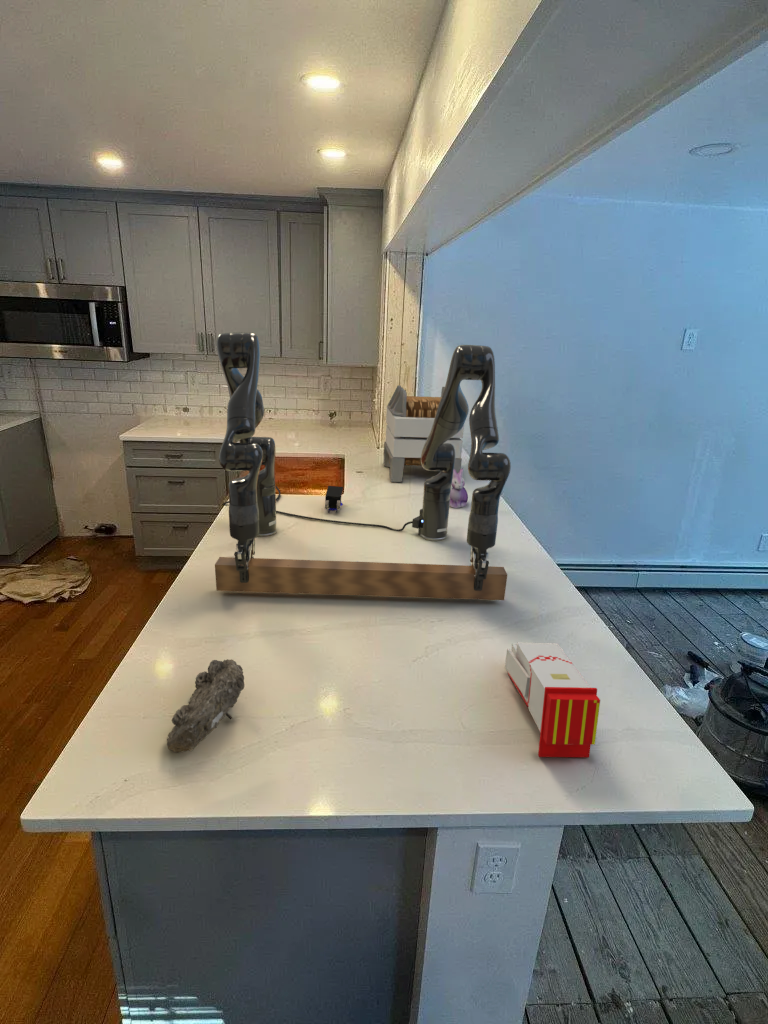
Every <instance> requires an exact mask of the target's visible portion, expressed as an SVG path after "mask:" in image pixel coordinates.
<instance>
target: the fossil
mask: <svg viewBox="0 0 768 1024" xmlns="http://www.w3.org/2000/svg"><path fill="white" fill-rule="evenodd" d="M243 670H244V669H243V667H242V665H240V664H237V662H236V661H235V660H234V659H232V658H231V659H227V658H226V659H224V660H223V661H222V660H217V659H212V660H211V661H210V663H209V665H208V666H207V671H201V672H199V673H198V674H197V675H196V676H195V680H194V684H195V685H194V687H195V689H194V690H193V693H192V694H191V697H190V698H189V700H188V704H184V705H182V706H181V707H180V709H177V710H176V711H175V713H174V715H173V716H172V718H171V723H172V724H173V727H172V730H171V731H170V732H168V734H167V738H166V741H167V742H166V745H167V749H168V750H169V751H173V752H174V753H176V754H178V753H182V752H188V751H189V752H192V751H193V750H195V748H196V747H197V746H199V744H200V743H201V742H203V741H204V740H205V739H206V738H207V737H208V736H209V735H210V734H211V733H212V732H214V730H215V729H217V727H218V726H219V724H220V722H221V721H222V720H223V719H224V718H225V716H226V717H227V719H229V720H233V717H232V715H230V714H229V710H230V709H231V708H234V706H235V704H236V703H237V702H238V699H239V697H240V695H241V693H242V691H243V690H245V689H244V688H245V675H244V671H243Z"/></svg>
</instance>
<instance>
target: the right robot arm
mask: <svg viewBox="0 0 768 1024" xmlns="http://www.w3.org/2000/svg"><path fill="white" fill-rule="evenodd" d="M448 368H449V369H448V373H447V377H446V380H445V381H446V382H445V385H444V387H445V388H444V392H443V395H442V397H441V396H440V397H441V400H440V403H439V405H438V408H437V412H436V415H435V419H434V422H433V425H432V429H431V431H430V434H429V436H428V438H427V440H426V442H425V444H424V447H423V450H422V453H421V464H422V466H421V467H422V468H423V470H426V471H428V472H429V471H430V472H438V473H437V474H435V475H433V476H431V477H429V478H427V479H425V480H424V482H423V493H422V496H423V497H422V506H421V508H420V509H419V515H418V516H416V517H413V518H412V520H410V521H408V522H405V523H404V524H403V526H402V527H401V528H399V529H396V528H392V527H389V526H387V525H382V524H376V523H375V524H374V523H361V522H351V521H341V520H332V519H325V518H320V517H319V518H318V517H311V516H305V515H300V514H294V513H290V512H284V511H280V510H276V514H280V515H281V514H282V515H285V516H290V517H295V518H302V519H305V520H306V519H307V520H312V521H320V522H325V523H326V522H327V523H335V524H343V525H354V526H364V527H377V528H384V529H387V530H390V531H394V532H402V531H404V529H405V528H406V527H407V526H408V525H411V527H412V528H413V529H417V535H418V536H420V538H421V539H424V540H426V541H432V542H440V541H444V540H446V539H447V538H448V525H449V517H450V516H449V514H450V493H451V489H452V477H453V470H454V463H455V449H454V446H453V445H452V444H450V443H444V442H446V441H447V440H449V439H450V438H452V437H453V436H454V435H456V434H457V433H458V432H459V431H460V430H461V429H462V427H463V425H464V426H465V423H466V421H467V418H468V417H469V418H468V422H469V423H468V424H469V432H470V439H471V441H470V443H471V444H470V454H469V459H468V465H467V472H468V474H469V476H470V478H471V479H472V480H474V481H486V482H487V481H488V482H489V483H488V484H486V485H483V486H480V487H476V488H475V489H473V491H472V493H471V494H472V495H471V503H470V512H469V516H468V523H467V532H466V543H467V544H468V545H469V546H470V559H469V563H470V566H473V568H474V569H475V575H474V577H475V580H474V590H475V591H481V590H482V587H483V579H486V576H487V571H488V566H490V561H489V560H488V559H489V552H488V551H487V550H488V549H492V548H493V547H495V545H496V542H497V541H496V540H497V534H498V533H497V532H498V524H499V507H500V499H501V497H502V496H501V495H502V493H503V491H504V488H505V486H506V483H507V480H508V478H509V477H510V473H511V468H512V464H511V463H512V462H511V459H510V457H509V456H508V455H507V454H506V453H504V452H483V451H485V450H489V449H492V448H494V447H496V446H497V445H498V444H499V443H500V434H499V427H498V422H497V415H496V361H495V354H494V351H493V349H492V347H490V346H488V345H481V344H480V345H479V344H478V345H477V344H459V345H457V346H456V348H455V349H454V351H453V353H452V356H451V359H450V364H449V367H448ZM462 381H480V382H481V390H480V393H479V394H478V397H477V399H476V400H475V402H474V404H473V406H472V407H471V409H469V403H468V400H467V397H466V396H465V394H464V393H463V391H462V388H461V383H462ZM469 410H470V413H469ZM468 415H469V416H468ZM227 504H229V500H228V501H225V502H223V503H222V506H225V505H227ZM479 573H482V574H479Z"/></svg>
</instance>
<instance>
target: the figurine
mask: <svg viewBox="0 0 768 1024" xmlns="http://www.w3.org/2000/svg"><path fill="white" fill-rule="evenodd" d="M463 474H464V468H461V469H460V471H459V473H457V472H456V470H455V469H454V470H453V479H452V485H451V493H450V505H449V508H454V509H455V508H456V509H459V508H464V507H466V506H467V504H468V500H469V495H468V491H467V489H466V487H465V484H466V483H465V479H464V477H463V476H464V475H463Z"/></svg>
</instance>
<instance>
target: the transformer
mask: <svg viewBox="0 0 768 1024" xmlns="http://www.w3.org/2000/svg"><path fill="white" fill-rule="evenodd" d="M444 388H445V386H442V387H441V392H440V393H441V394H440V396H415V395H414V396H413V395H412V396H411V395H407V394H408V393H407V390H406V389H404V388H403V387H402V385H399V384H398V385H397V386H396V388H395V390H394V392H393V394H392V395H391V398H390V400H389V402H388V404H387V405H386V413H385V414H386V415H385V423H386V428H385V438H384V442H383V466H384V467H388V468H389V475H388V476H389V477H388V478H389V480H390V482H391V483H402V482H403V475H404V469H405V466H406V467H407V466H411V467H412V466H413V467H415V466H416V467H417V466H418V467H422V464H421V453H422V450H423V447H424V444H425V442H426V440H427V438H428V436H429V434H430V431H431V429H432V425H433V422H434V419H435V415H436V412H437V408H438V405H439V403H440V400H441V397H442V395H443V392H444ZM464 429H465V424H464V425H463V427H462V429H461V430H460V431H459V432H458V433H457V434H456V435H454V436H453V437H452V438H450V439H449V440H447V441H446V442H444V443H450V444H452V445H453V446H454V449H455V463H454V469H455V470H456V472H457V473H459V471H460V469H462V461H463V460H462V453H463V442H464V441H463V440H462V439H463V438H464V431H465V430H464ZM452 479H453V477H452Z"/></svg>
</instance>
